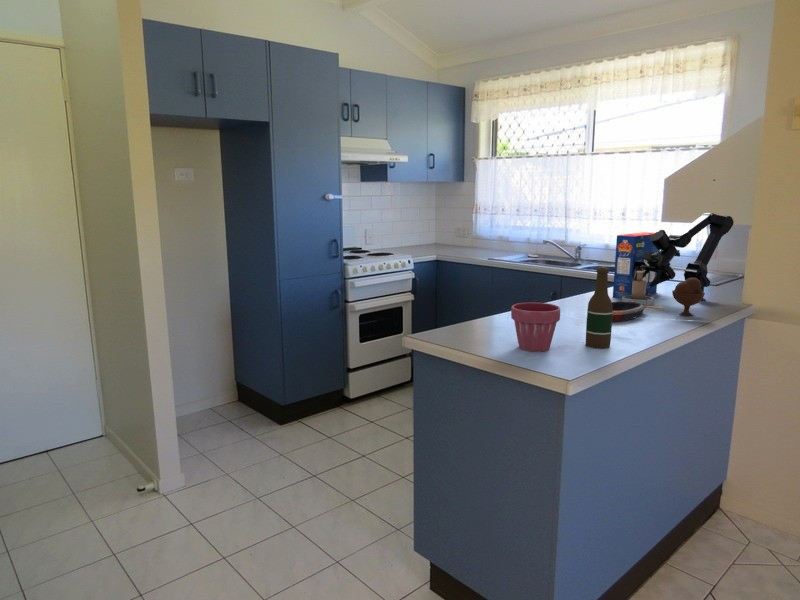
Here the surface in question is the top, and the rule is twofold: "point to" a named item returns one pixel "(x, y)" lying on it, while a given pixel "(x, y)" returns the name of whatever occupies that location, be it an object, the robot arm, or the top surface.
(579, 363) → the top surface
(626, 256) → the pasta box
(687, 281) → the ice cream bowl
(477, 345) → the top surface
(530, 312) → the plant pot
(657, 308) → the coaster
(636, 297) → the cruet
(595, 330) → the beer bottle
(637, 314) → the dish
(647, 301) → the slate dish
